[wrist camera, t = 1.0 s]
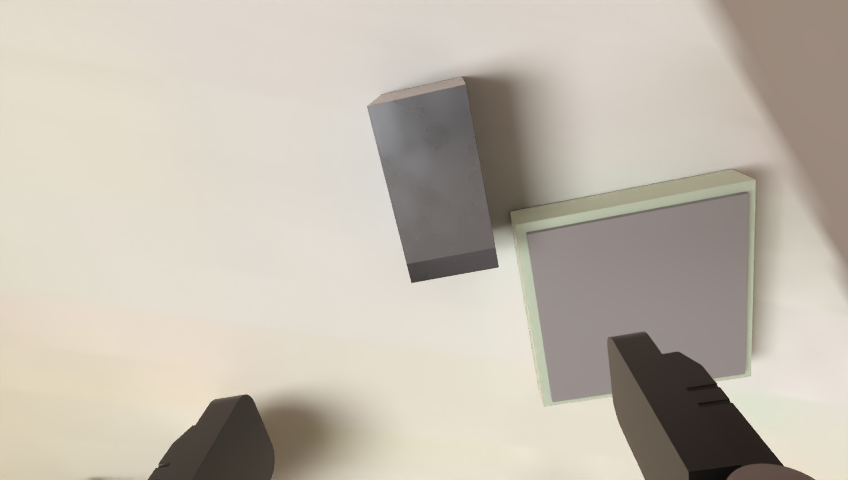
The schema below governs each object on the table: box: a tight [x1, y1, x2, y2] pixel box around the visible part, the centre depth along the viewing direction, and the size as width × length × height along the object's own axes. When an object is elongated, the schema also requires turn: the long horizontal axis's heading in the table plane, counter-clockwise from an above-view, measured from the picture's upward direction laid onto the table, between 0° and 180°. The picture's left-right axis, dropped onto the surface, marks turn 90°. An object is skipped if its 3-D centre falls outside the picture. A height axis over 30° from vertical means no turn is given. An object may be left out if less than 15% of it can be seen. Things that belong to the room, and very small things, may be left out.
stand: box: [510, 169, 756, 406], centre depth 33 cm, size 14×14×3 cm
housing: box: [367, 77, 499, 283], centre depth 29 cm, size 10×5×6 cm, turn 12°
